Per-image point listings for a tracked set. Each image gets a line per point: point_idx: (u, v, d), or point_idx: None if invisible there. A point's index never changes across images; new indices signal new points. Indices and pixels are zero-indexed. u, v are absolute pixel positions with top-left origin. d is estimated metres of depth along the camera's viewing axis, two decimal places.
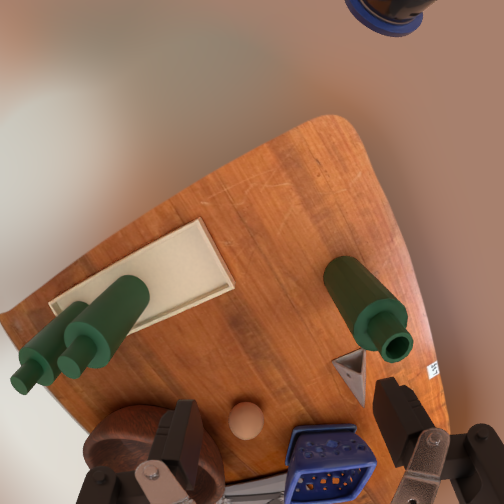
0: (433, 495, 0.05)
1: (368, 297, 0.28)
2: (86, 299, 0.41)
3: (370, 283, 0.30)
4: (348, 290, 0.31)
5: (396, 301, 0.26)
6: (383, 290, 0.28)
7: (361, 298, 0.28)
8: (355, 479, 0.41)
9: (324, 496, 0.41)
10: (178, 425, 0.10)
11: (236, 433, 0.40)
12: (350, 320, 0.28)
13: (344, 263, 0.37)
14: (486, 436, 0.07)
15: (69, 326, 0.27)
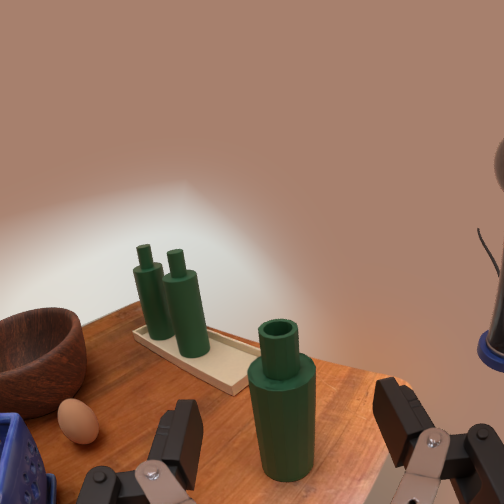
0: (433, 495, 0.05)
1: None
2: None
3: None
4: None
5: (313, 365, 0.25)
6: None
7: None
8: None
9: None
10: (178, 425, 0.10)
11: None
12: None
13: None
14: (486, 436, 0.07)
15: (189, 270, 0.51)
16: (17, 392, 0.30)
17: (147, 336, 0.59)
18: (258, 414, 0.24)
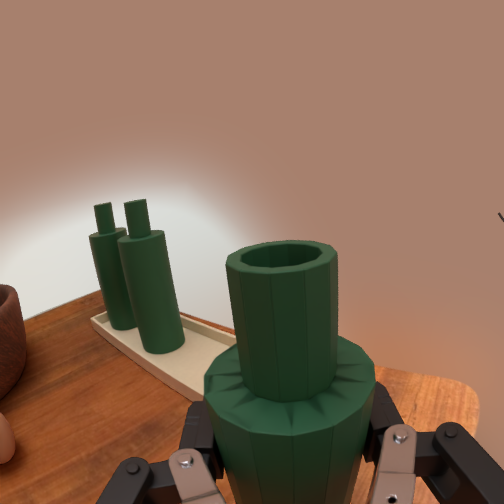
0: (412, 490, 0.06)
1: None
2: None
3: None
4: None
5: (368, 360, 0.10)
6: None
7: None
8: None
9: None
10: (208, 414, 0.11)
11: None
12: None
13: None
14: (455, 434, 0.07)
15: (156, 230, 0.36)
16: None
17: (108, 325, 0.44)
18: (233, 475, 0.09)
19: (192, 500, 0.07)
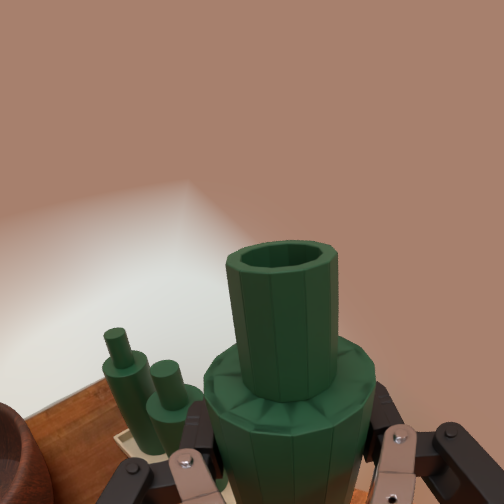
0: (412, 490, 0.06)
1: None
2: None
3: None
4: None
5: (368, 360, 0.10)
6: None
7: None
8: None
9: None
10: (208, 414, 0.11)
11: None
12: None
13: None
14: (455, 434, 0.07)
15: (192, 386, 0.28)
16: None
17: (135, 444, 0.35)
18: (233, 475, 0.09)
19: (192, 500, 0.07)
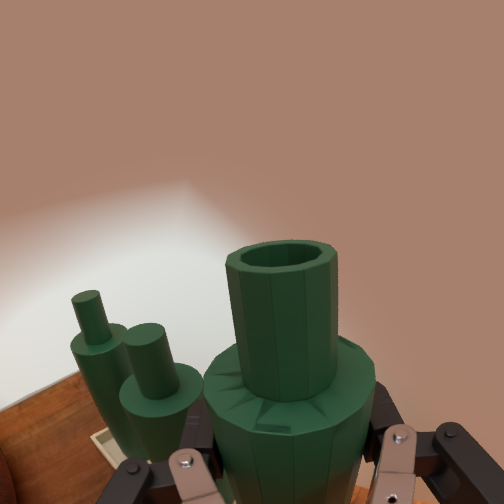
0: (412, 490, 0.06)
1: None
2: None
3: None
4: None
5: (368, 360, 0.10)
6: None
7: None
8: None
9: None
10: (208, 414, 0.11)
11: None
12: None
13: None
14: (455, 434, 0.07)
15: (186, 366, 0.20)
16: None
17: (117, 445, 0.27)
18: (233, 475, 0.09)
19: (192, 500, 0.07)
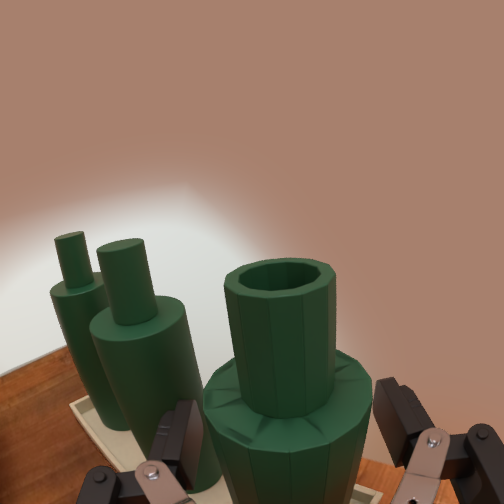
0: (433, 495, 0.05)
1: None
2: None
3: None
4: None
5: (366, 376, 0.10)
6: None
7: None
8: None
9: None
10: (178, 425, 0.10)
11: None
12: None
13: None
14: (486, 436, 0.07)
15: (167, 297, 0.18)
16: None
17: (97, 415, 0.26)
18: (232, 485, 0.09)
19: None
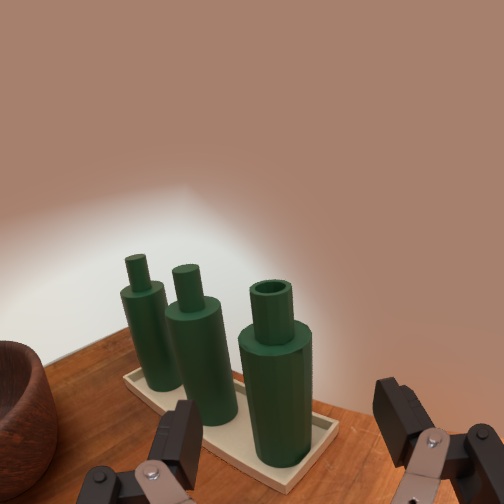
0: (433, 495, 0.05)
1: None
2: None
3: None
4: None
5: (309, 331, 0.23)
6: None
7: None
8: None
9: None
10: (178, 425, 0.10)
11: None
12: None
13: None
14: (486, 436, 0.07)
15: (208, 297, 0.32)
16: None
17: (144, 383, 0.39)
18: (250, 386, 0.23)
19: None
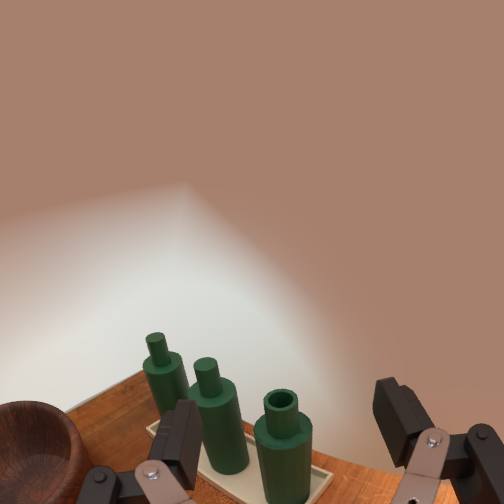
0: (433, 495, 0.05)
1: None
2: None
3: None
4: None
5: (310, 424, 0.26)
6: None
7: None
8: None
9: None
10: (178, 425, 0.10)
11: None
12: None
13: None
14: (486, 436, 0.07)
15: (224, 378, 0.35)
16: None
17: None
18: (262, 462, 0.26)
19: None
